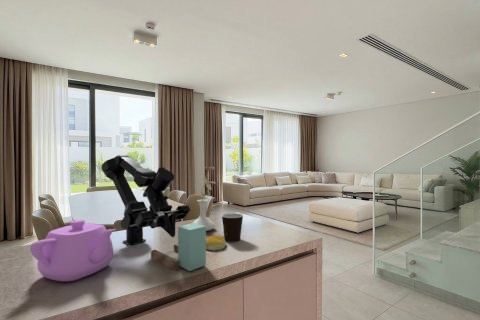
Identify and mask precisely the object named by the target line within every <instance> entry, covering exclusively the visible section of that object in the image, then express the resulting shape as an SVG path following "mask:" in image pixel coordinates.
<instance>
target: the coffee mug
mask: <svg viewBox="0 0 480 320" xmlns="http://www.w3.org/2000/svg"><path fill="white" fill-rule="evenodd" d="M243 218H244V214H241V213H236V212H235V213H233V212H229V213H224V214H222V215H221V221H222V228H223V229H222V231H223V238H224V239H225V241H226V243H238V242H240V241H241V236H242V235H241V233H242V226H243Z"/></svg>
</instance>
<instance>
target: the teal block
mask: <svg viewBox="0 0 480 320" xmlns="http://www.w3.org/2000/svg"><path fill="white" fill-rule="evenodd" d="M206 234H207V231H206V226H203V225H200V224H196V223H193V222H191V223H187V224H184V225H179V226H177V243H178V261H179V266H181V267H183V269H185V270H187V271H188V272H191V271H194V270H196V269H199V268H202V267H204V266H206V265H207V249H206V239H207V235H206Z"/></svg>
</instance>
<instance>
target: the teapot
mask: <svg viewBox="0 0 480 320" xmlns="http://www.w3.org/2000/svg"><path fill="white" fill-rule="evenodd" d="M69 224H70V225H67V226H62V227H59V228H56V229H53V230H50V231H49V232H48V233H47V234H46V237H45V239H40V240H36V241H34V242H32V243H31V245H30V247H29V251H30V253H31V255H32V257H33V258H34V259H35V260H37V270H38V272H39V273H40V274H41V276H43V277H44V278H46V279H49V280H52V281H56V282H57V281H58V282H75V281H78V280H80V279H82V278H85V277H88V276H91V275H92V274H95V273H97V272H99V271H101V270H102V269H105V267H107V266H109V264H110V262H112V260H113V258H114V245H113V242H112V238H111V235H112V234H113V233H114V232H115V231H116V228H111V229H107V228H106V226H105V225H104V224H99V223H92V222H86V220H84V219H75V220H72V221H70V223H69Z"/></svg>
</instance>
